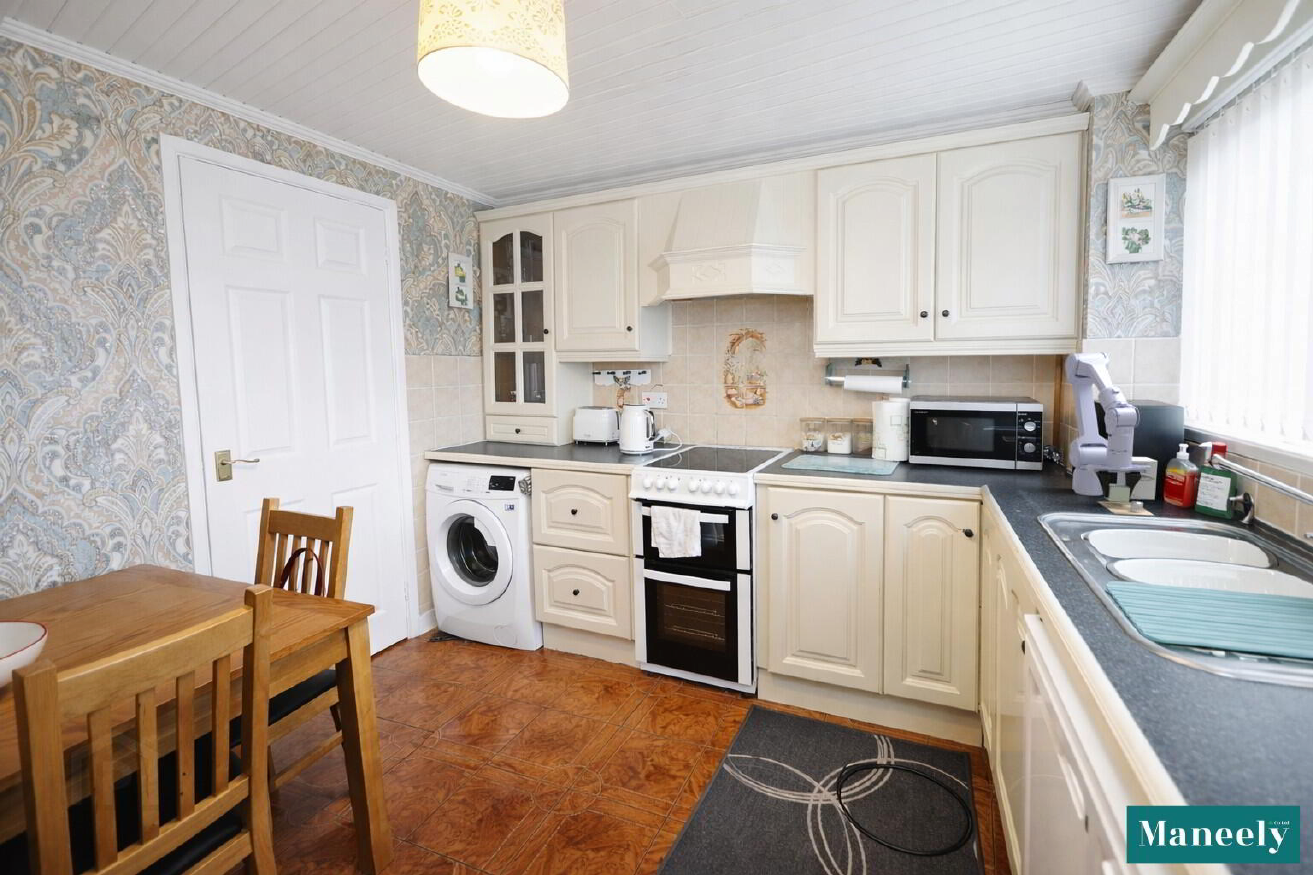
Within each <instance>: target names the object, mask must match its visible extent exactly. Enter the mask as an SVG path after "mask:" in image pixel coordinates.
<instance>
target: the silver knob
mask: <svg viewBox="0 0 1313 875" xmlns="http://www.w3.org/2000/svg"><path fill="white" fill-rule="evenodd" d="M1130 503H1131V510H1130V511H1131V512H1135V513H1142V511H1143V508H1144V507H1143V506H1144V502H1143V501H1138V500H1132V501H1131V502H1130Z"/></svg>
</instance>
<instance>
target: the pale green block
mask: <svg viewBox="0 0 1313 875" xmlns="http://www.w3.org/2000/svg"><path fill="white" fill-rule="evenodd" d="M1129 496H1130V488H1129V487H1128V486H1126V485H1124V484H1117V483H1110V484H1109V496H1108V498H1105V497H1103V498H1105V499H1106V500H1107V501H1108V502H1129V503H1130V499H1129Z"/></svg>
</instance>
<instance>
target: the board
mask: <svg viewBox="0 0 1313 875" xmlns="http://www.w3.org/2000/svg"><path fill="white" fill-rule="evenodd" d="M1097 502H1098V504H1100V505H1102V506H1103V507H1104V508H1106V509H1107V510H1109V511H1110V512H1111V513H1113V515H1114V514H1115V515H1127V516H1128V515H1129V516H1152V517H1153V516H1154V517H1155V516H1156V515H1154V514H1153V513H1152V512H1150V511H1148V510H1147V509H1146V508H1144V507H1143V511H1142V513H1135V512H1131V511H1130V510H1131V502H1130V501H1129V502H1117V501H1097Z"/></svg>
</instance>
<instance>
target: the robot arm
mask: <svg viewBox="0 0 1313 875" xmlns="http://www.w3.org/2000/svg"><path fill="white" fill-rule="evenodd" d="M1109 365H1110V358H1109V356H1108V355H1107V353H1106V352H1103V351H1101V352H1085V353H1083V352H1081V353H1080V352H1079V353H1070V354H1069V355H1067V357H1066V360H1065V363H1064V368H1065V369H1064V370H1065V376H1066V379H1067V380H1066V381H1067V382H1068V383H1069V384H1071V386H1072V394H1073V403H1074V409H1075V417H1076V423H1077V431H1078V437H1077V438H1076V439H1074V440H1073V441H1072V442H1070V444H1069V455H1068V456H1069V461H1070V464H1071V465H1072V466H1073V467H1074V468H1075V469H1074V470H1073V472H1072V486H1071V487H1072V490H1074V493H1075V494H1078V495H1083V496H1102V497H1103V498H1104V497H1105V499H1106V498H1108V496H1109V484H1111V479H1112V475H1110V473H1118V472H1125V485H1126V486H1128V487H1129V488H1130V496H1129V500H1131V499H1130V497H1131V494H1132V492H1133V489H1134V487H1135V486H1136V484H1137V483H1138V481H1139V480H1140V479H1141V477H1142V475H1141V474H1140V473H1149V474H1150V471H1151V467H1150V466H1148V465H1131V463H1132V457H1133V447H1134V446H1133V445H1134V434H1135V428H1137V427H1138V426H1139V424H1140V420H1141V416H1140V411H1139V409H1138V407H1136V406H1133V405H1132V404H1129V403H1128V400H1127V399H1126V397H1125V395H1124V393H1123V392H1122V390H1121V388H1119V387H1117V386H1114V384H1113V382H1112V378H1111V376H1110V374H1109V371H1108V370H1109ZM1093 385H1095V387H1096V389H1097V391H1099V392H1098V394H1097V399H1098V401H1099V403H1100V405H1101V407H1102V409H1103V411H1104V412H1105V415H1104V423H1105V431H1106V433H1107V438H1104V437H1103V436H1101V435H1100V434H1099V427H1098V420H1097V412H1096V406H1095V398H1094V392H1093Z"/></svg>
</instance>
